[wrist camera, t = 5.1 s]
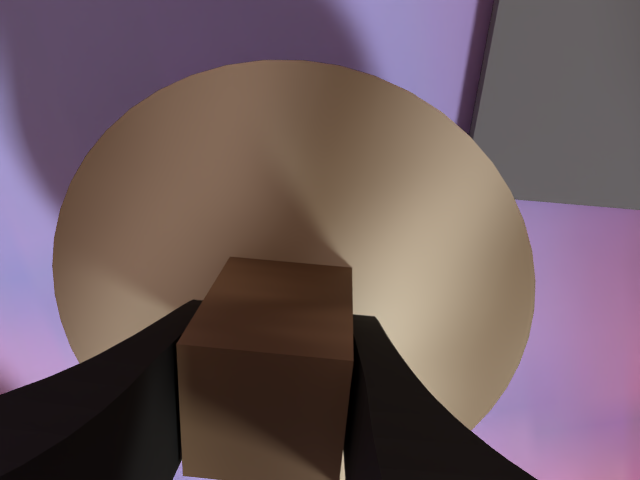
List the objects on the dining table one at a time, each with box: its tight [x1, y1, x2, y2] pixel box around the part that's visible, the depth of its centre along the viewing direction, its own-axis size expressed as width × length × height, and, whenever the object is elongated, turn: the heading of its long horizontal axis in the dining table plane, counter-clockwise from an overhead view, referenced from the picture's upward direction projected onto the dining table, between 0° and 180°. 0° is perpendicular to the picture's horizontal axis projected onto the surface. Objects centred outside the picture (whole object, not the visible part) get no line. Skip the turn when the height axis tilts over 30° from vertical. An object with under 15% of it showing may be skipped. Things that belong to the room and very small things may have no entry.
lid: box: [52, 60, 535, 480], centre depth 11 cm, size 13×13×5 cm
